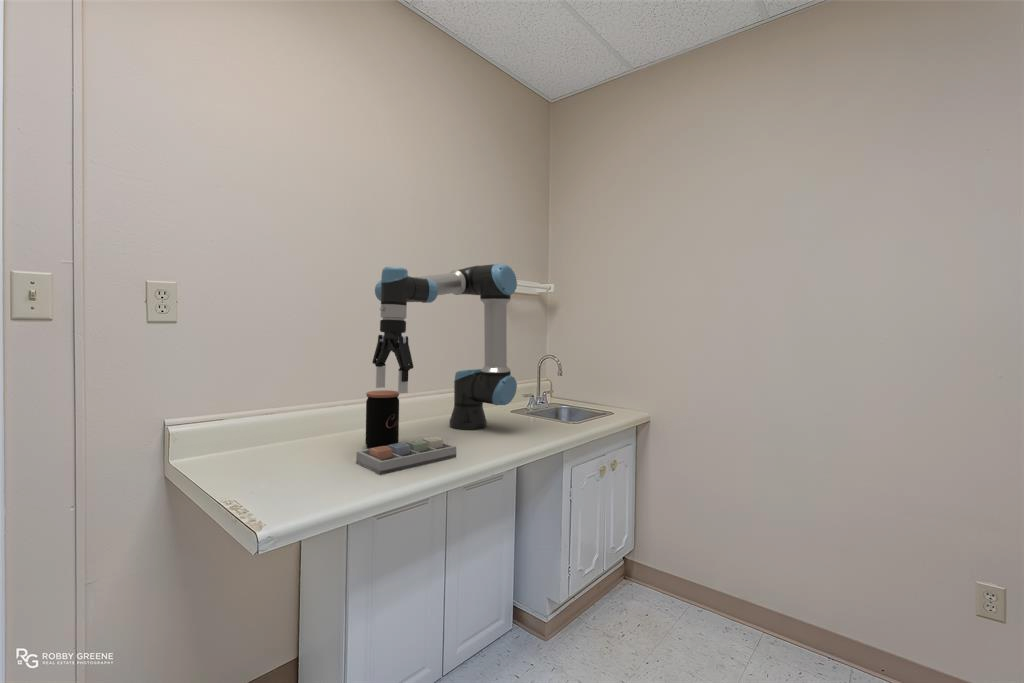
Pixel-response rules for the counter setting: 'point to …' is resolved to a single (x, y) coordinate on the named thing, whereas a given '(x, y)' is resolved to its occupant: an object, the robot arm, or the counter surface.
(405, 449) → the key slate
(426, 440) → the key ivory
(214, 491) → the counter surface
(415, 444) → the key sage
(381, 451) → the key terracotta
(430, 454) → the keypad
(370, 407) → the coffee jar
